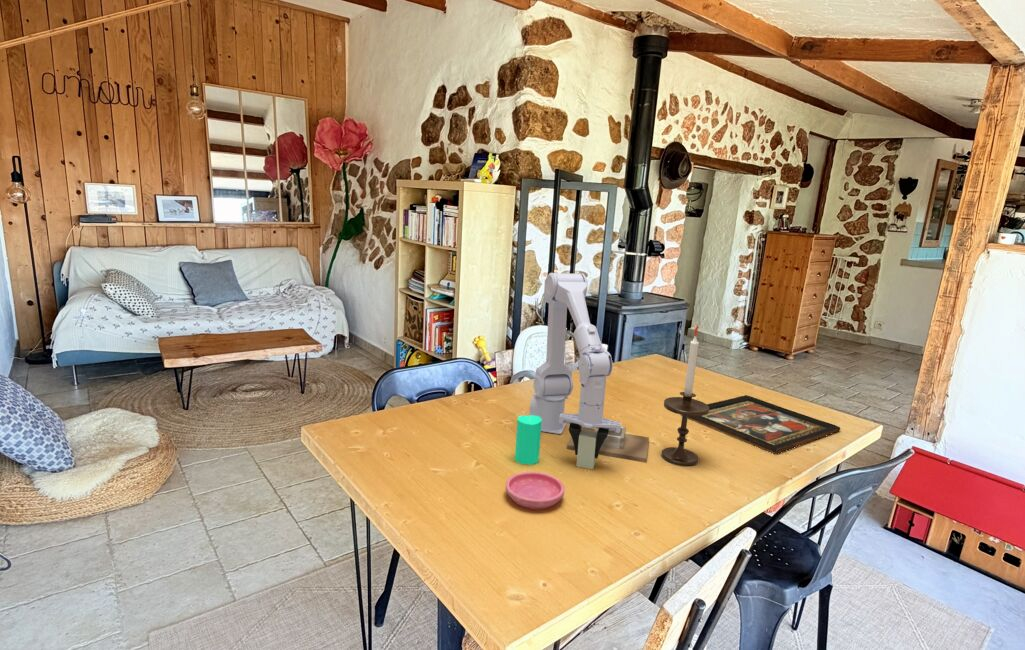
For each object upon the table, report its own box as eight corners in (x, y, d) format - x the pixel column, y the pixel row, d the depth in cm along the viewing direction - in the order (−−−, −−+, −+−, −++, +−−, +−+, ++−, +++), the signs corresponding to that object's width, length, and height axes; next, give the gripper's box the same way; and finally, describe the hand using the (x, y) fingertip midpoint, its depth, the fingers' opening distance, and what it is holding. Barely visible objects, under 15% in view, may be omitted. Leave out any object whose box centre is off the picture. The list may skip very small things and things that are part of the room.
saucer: (572, 510, 114) (573, 496, 114) (514, 517, 111) (515, 502, 110) (551, 481, 126) (552, 468, 125) (498, 486, 123) (499, 473, 122)
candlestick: (701, 471, 135) (720, 330, 128) (655, 462, 139) (672, 324, 131) (702, 454, 145) (721, 322, 138) (659, 445, 149) (675, 317, 141)
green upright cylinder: (542, 456, 138) (545, 411, 135) (535, 467, 132) (538, 419, 130) (519, 452, 140) (522, 406, 137) (511, 462, 134) (514, 414, 132)
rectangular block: (576, 466, 134) (579, 435, 132) (579, 459, 138) (581, 429, 136) (592, 469, 133) (596, 438, 131) (595, 462, 137) (598, 431, 135)
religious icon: (791, 462, 144) (793, 451, 144) (673, 420, 170) (674, 411, 170) (844, 431, 169) (845, 422, 169) (734, 398, 195) (735, 391, 194)
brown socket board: (566, 448, 143) (567, 434, 143) (575, 428, 157) (576, 415, 156) (646, 462, 138) (648, 447, 137) (648, 440, 152) (650, 427, 151)
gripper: (558, 402, 130) (553, 456, 133) (621, 412, 126) (615, 467, 129) (563, 393, 137) (559, 445, 140) (623, 402, 133) (618, 455, 136)
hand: (586, 455), depth 135 cm, fingers closed on rectangular block, 4 cm apart
